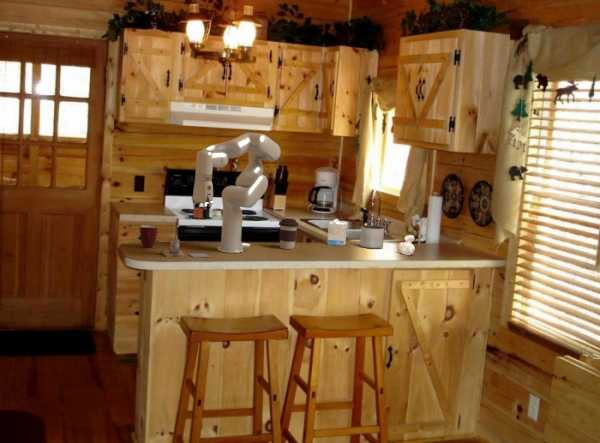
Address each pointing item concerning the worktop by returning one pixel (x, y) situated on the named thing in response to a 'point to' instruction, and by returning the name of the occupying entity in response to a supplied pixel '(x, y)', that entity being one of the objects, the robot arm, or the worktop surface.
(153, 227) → the mug
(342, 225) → the ink box
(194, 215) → the orange round piece
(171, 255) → the post base
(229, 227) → the robot arm
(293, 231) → the coffee cup
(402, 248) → the duck figurine
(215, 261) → the worktop surface
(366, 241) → the planter
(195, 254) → the mat
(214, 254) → the worktop surface
